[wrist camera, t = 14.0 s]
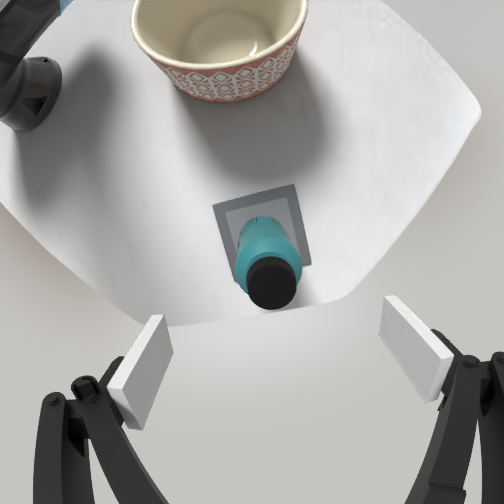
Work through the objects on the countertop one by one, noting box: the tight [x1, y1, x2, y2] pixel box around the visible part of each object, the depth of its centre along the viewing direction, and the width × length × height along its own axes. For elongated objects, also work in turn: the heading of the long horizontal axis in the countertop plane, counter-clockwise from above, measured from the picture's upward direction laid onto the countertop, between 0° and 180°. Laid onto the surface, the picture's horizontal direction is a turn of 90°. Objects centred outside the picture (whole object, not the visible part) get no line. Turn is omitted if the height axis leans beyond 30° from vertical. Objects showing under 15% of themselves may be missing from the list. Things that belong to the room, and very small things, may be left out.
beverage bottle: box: [235, 216, 302, 310], centre depth 31 cm, size 6×7×20 cm
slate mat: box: [212, 184, 311, 282], centre depth 41 cm, size 12×12×1 cm
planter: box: [131, 0, 308, 102], centre depth 26 cm, size 19×19×15 cm
